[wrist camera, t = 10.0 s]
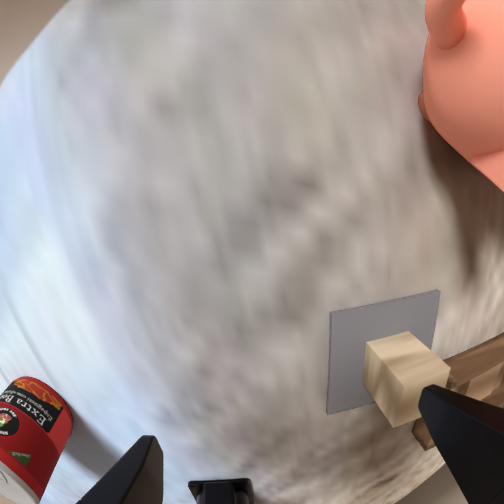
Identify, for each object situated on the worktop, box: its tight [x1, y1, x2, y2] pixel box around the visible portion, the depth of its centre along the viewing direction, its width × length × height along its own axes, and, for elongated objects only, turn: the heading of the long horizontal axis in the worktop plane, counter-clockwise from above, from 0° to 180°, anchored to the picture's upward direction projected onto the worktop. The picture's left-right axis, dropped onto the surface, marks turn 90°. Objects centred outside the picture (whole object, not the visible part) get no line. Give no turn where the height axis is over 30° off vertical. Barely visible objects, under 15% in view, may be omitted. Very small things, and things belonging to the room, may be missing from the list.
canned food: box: [0, 377, 73, 504], centre depth 15 cm, size 8×8×11 cm
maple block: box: [362, 331, 451, 428], centre depth 18 cm, size 4×4×6 cm
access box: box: [412, 333, 504, 451], centre depth 23 cm, size 10×16×4 cm, turn 95°
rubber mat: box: [326, 290, 440, 415], centre depth 22 cm, size 10×10×1 cm
